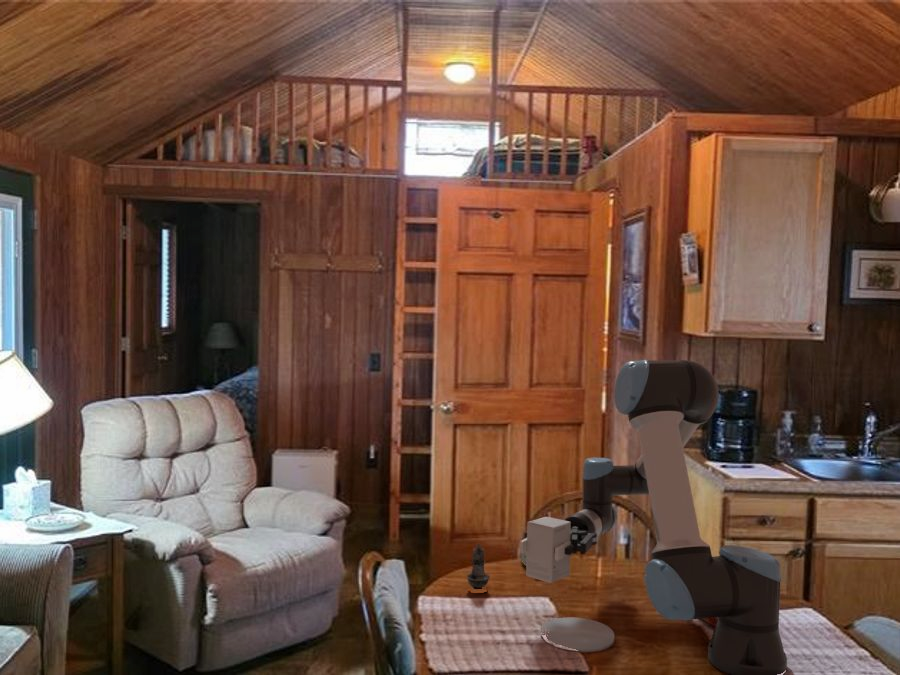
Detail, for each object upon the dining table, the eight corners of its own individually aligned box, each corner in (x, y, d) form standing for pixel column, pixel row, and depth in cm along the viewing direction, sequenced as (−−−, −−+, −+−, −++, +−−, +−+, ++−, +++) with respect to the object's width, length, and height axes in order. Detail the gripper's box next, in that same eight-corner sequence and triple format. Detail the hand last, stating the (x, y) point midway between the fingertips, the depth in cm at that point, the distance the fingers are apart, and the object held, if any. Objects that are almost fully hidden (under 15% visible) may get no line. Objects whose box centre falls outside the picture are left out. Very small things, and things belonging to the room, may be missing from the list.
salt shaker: (490, 586, 204) (490, 540, 204) (488, 595, 198) (489, 547, 198) (467, 585, 205) (468, 539, 204) (465, 593, 199) (466, 546, 198)
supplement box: (551, 584, 176) (553, 527, 175) (524, 576, 181) (526, 521, 180) (570, 576, 181) (571, 521, 181) (544, 568, 186) (545, 515, 186)
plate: (630, 642, 172) (630, 637, 172) (572, 658, 163) (572, 653, 163) (581, 616, 185) (581, 612, 185) (525, 630, 177) (525, 625, 177)
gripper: (621, 550, 190) (581, 576, 171) (542, 536, 202) (497, 559, 183) (621, 519, 190) (582, 542, 171) (543, 506, 201) (498, 526, 182)
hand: (538, 550), depth 177 cm, fingers closed on supplement box, 8 cm apart
